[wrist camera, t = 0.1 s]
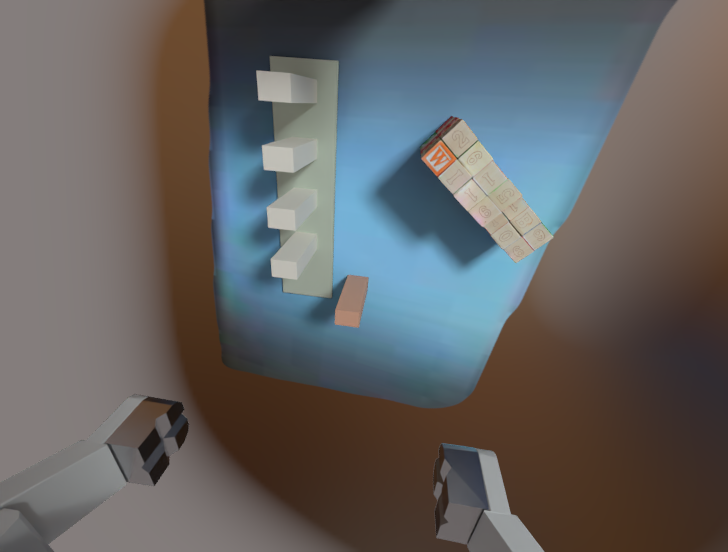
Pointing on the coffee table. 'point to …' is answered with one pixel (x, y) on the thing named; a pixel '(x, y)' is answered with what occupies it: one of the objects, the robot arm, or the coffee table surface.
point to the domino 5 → (351, 301)
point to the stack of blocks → (483, 189)
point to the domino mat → (311, 166)
